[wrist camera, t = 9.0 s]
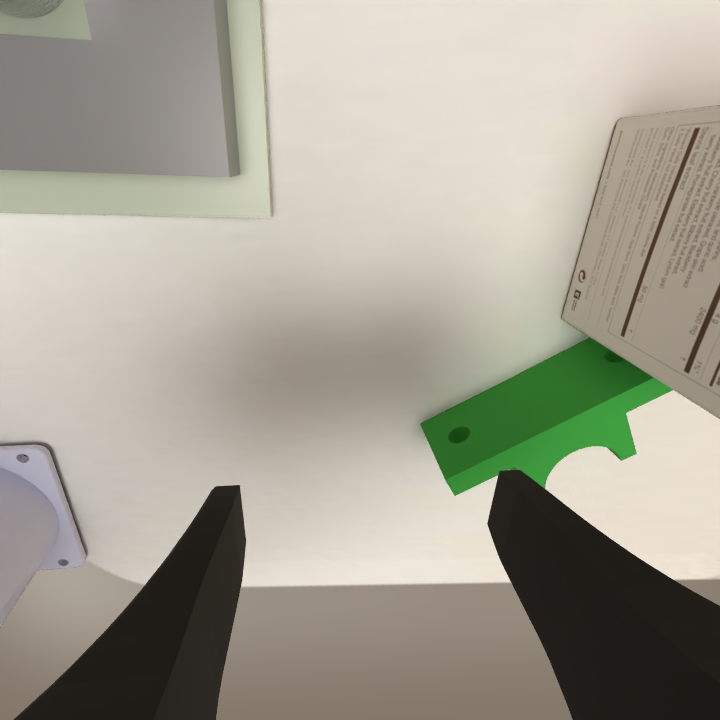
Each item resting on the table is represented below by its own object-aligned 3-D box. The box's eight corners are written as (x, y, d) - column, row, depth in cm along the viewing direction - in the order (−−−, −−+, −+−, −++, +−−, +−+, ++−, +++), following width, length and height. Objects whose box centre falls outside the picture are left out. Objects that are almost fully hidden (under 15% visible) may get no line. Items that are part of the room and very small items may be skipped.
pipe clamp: (445, 467, 24) (473, 531, 20) (419, 421, 22) (444, 480, 18) (630, 377, 23) (702, 426, 19) (616, 321, 21) (691, 361, 17)
